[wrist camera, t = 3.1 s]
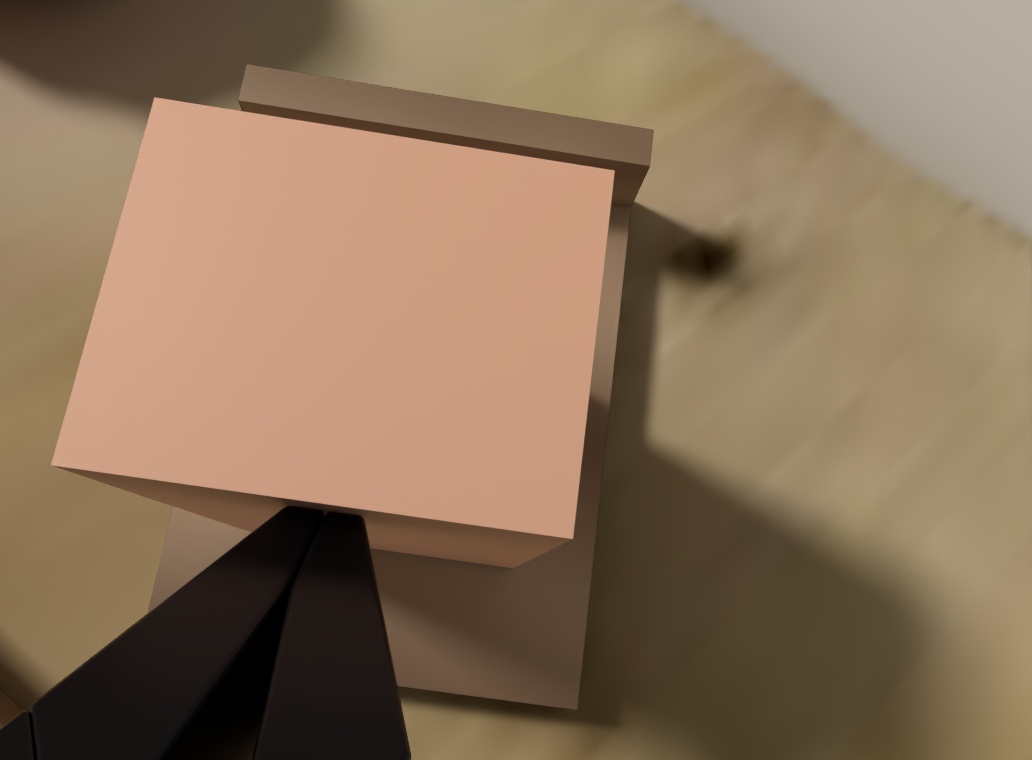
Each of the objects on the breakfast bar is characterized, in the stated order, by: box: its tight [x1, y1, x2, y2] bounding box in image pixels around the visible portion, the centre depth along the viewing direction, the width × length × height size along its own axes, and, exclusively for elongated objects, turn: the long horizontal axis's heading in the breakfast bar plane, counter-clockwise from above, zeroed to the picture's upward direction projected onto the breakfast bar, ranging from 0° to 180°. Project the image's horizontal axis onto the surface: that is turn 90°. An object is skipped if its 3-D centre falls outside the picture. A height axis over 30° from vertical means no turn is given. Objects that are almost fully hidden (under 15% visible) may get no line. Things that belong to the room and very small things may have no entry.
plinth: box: [148, 64, 654, 710], centre depth 16 cm, size 11×8×3 cm
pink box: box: [51, 97, 615, 568], centre depth 12 cm, size 4×5×8 cm
